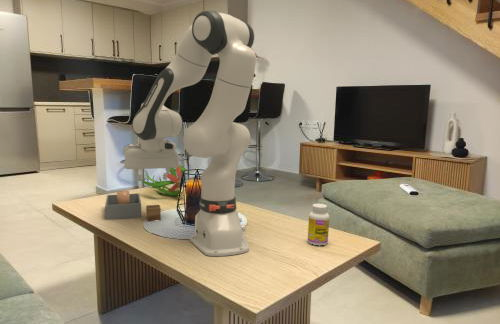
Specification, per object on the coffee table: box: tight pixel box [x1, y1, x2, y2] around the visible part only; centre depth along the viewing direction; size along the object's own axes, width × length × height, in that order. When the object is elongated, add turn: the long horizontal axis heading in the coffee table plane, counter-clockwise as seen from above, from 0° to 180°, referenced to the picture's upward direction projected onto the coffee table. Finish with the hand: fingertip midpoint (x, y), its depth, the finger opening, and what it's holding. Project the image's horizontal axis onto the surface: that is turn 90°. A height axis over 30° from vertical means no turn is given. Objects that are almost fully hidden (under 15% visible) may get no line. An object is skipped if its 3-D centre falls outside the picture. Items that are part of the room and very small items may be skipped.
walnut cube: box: [145, 204, 162, 222], centre depth 143 cm, size 5×5×5 cm
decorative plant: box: [141, 163, 188, 197], centre depth 181 cm, size 26×25×30 cm
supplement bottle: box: [307, 203, 330, 246], centre depth 121 cm, size 7×7×13 cm
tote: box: [104, 193, 142, 221], centre depth 151 cm, size 17×13×6 cm
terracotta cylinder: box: [116, 190, 131, 205], centre depth 154 cm, size 5×5×7 cm
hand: (152, 179), depth 141 cm, fingers open, 8 cm apart
